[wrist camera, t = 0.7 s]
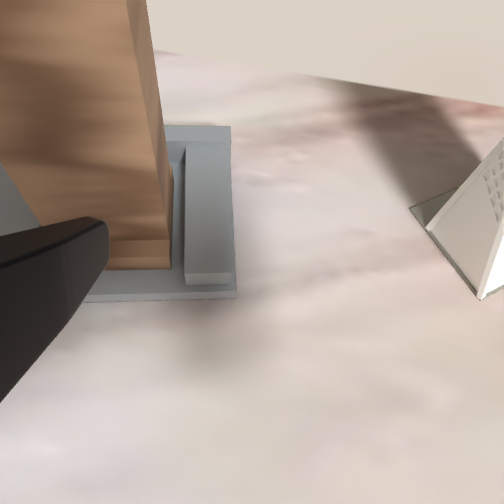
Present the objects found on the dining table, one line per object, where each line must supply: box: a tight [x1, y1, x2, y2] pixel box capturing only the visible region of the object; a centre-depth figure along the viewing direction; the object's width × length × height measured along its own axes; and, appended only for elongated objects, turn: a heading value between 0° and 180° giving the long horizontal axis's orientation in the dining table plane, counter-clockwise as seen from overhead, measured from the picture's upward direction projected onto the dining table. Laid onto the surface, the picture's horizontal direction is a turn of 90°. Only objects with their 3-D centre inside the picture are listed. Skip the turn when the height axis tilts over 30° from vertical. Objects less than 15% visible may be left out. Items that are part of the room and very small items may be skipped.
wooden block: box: [0, 0, 174, 271], centre depth 19 cm, size 6×6×14 cm
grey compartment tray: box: [0, 126, 236, 303], centre depth 25 cm, size 24×10×4 cm, turn 93°
